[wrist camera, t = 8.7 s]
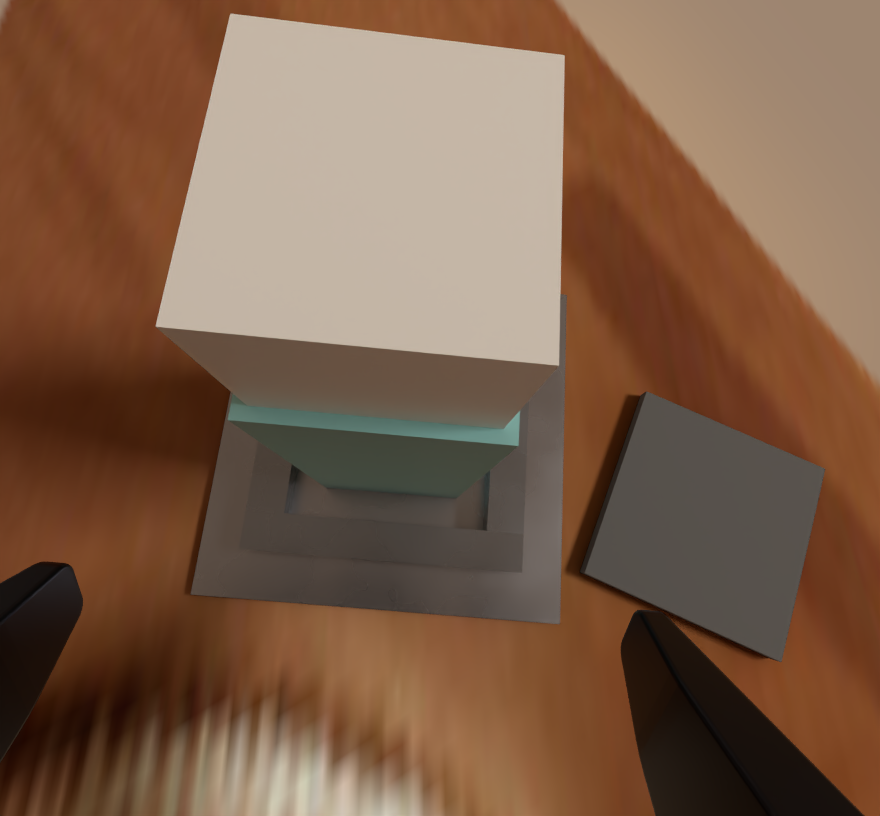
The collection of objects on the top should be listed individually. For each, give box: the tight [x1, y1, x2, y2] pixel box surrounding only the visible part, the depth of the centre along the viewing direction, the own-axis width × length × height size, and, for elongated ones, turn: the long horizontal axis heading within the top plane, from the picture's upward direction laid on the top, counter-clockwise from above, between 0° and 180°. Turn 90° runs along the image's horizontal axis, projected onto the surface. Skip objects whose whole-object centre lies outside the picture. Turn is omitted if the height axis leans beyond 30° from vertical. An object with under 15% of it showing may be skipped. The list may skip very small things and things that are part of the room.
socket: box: [191, 294, 567, 624], centre depth 18 cm, size 12×12×1 cm
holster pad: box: [580, 392, 825, 662], centre depth 18 cm, size 7×7×1 cm
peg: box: [156, 14, 564, 498], centre depth 12 cm, size 4×4×13 cm
